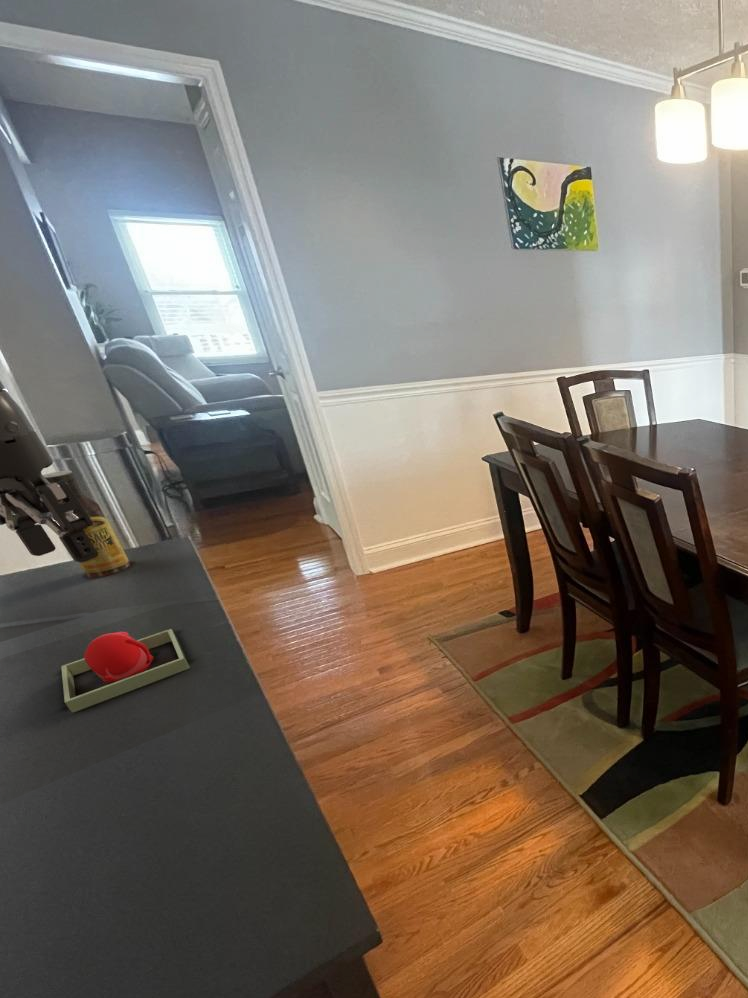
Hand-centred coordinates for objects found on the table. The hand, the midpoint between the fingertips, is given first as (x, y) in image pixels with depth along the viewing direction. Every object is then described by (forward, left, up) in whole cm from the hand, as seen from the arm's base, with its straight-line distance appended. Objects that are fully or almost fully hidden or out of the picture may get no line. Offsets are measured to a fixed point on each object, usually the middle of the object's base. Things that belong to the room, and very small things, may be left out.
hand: (66, 556), depth 77 cm
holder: (-1, -1, -18) cm, 18 cm away
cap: (-1, -1, -18) cm, 18 cm away
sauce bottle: (-27, +37, -18) cm, 49 cm away
